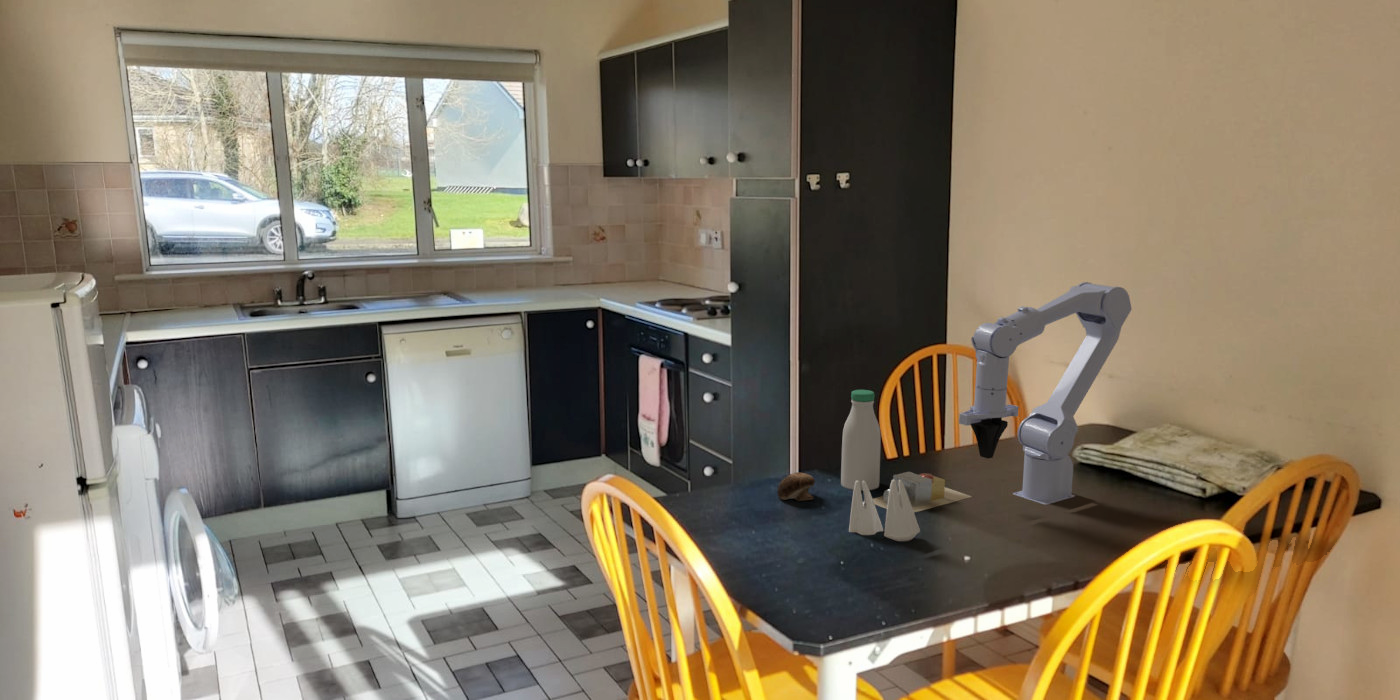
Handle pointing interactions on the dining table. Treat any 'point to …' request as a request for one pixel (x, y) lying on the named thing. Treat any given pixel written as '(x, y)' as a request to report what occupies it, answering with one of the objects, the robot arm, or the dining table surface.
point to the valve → (936, 486)
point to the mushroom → (796, 487)
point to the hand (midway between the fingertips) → (986, 456)
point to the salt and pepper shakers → (897, 516)
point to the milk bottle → (861, 443)
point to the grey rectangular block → (913, 488)
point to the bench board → (948, 498)
